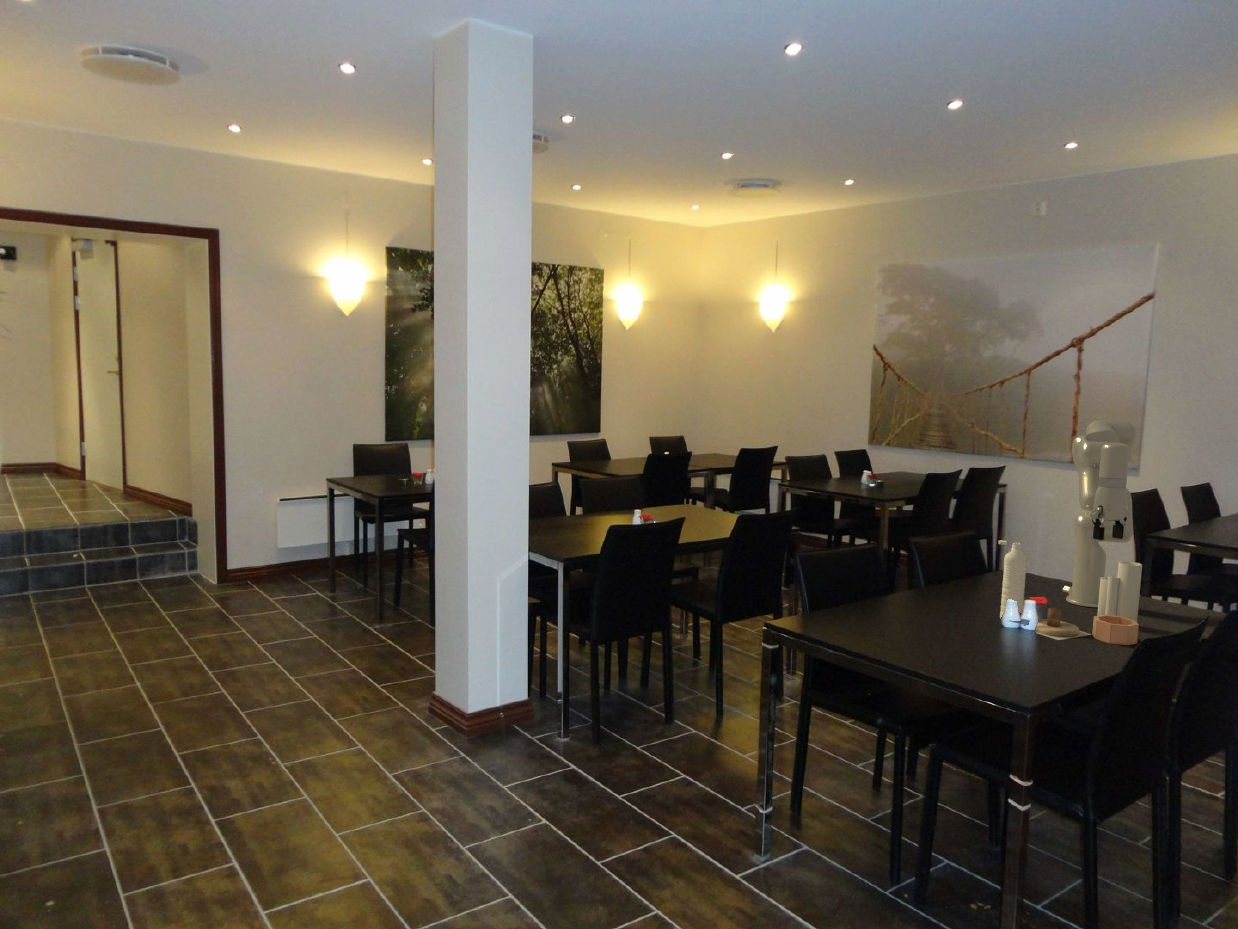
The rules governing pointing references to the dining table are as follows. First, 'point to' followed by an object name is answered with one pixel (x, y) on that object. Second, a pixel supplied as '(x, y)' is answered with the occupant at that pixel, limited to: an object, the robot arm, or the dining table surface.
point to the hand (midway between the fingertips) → (1107, 538)
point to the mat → (1067, 637)
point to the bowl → (1115, 629)
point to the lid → (1056, 625)
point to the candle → (1121, 591)
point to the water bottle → (1013, 576)
